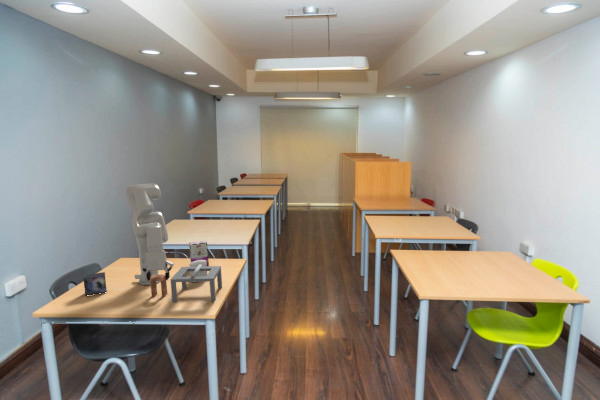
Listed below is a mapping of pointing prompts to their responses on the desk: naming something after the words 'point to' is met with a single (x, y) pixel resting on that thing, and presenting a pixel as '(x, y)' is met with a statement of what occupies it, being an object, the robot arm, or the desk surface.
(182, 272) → the grey square frame
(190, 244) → the candy bar box
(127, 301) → the desk surface
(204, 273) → the photo printer
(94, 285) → the small box
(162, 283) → the u-shaped wooden block
